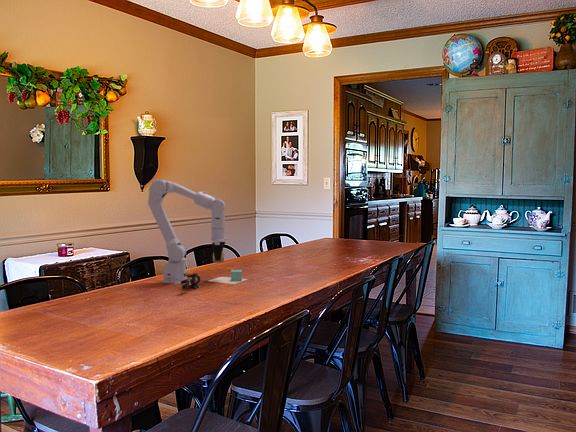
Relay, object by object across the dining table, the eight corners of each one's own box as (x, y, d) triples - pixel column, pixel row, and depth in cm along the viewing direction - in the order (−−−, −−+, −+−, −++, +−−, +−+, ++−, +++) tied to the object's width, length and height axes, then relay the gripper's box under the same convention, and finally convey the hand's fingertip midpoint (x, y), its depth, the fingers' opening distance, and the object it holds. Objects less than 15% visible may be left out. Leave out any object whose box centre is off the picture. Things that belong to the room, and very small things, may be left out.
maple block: (223, 262, 210) (223, 253, 210) (212, 262, 210) (212, 253, 209) (224, 261, 214) (224, 251, 214) (213, 261, 214) (213, 251, 214)
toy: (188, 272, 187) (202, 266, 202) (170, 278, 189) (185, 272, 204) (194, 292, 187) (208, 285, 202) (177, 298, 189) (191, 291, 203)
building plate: (234, 285, 205) (234, 284, 205) (206, 282, 211) (206, 280, 211) (247, 280, 215) (247, 279, 215) (221, 277, 221) (221, 276, 221)
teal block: (241, 281, 211) (241, 271, 211) (231, 281, 211) (231, 271, 210) (241, 278, 216) (241, 269, 215) (231, 279, 215) (231, 269, 215)
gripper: (226, 229, 204) (227, 262, 205) (228, 226, 219) (228, 256, 220) (209, 229, 204) (209, 262, 205) (212, 226, 218) (212, 257, 219)
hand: (218, 259), depth 212 cm, fingers closed on maple block, 4 cm apart
